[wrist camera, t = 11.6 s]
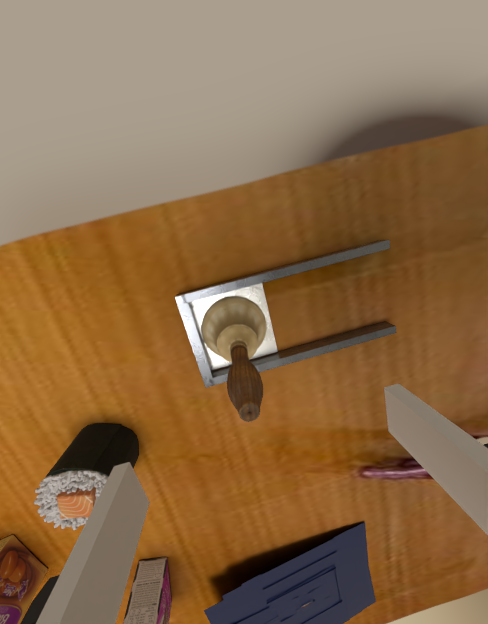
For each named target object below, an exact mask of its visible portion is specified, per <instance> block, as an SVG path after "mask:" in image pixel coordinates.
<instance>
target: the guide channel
mask: <svg viewBox="0 0 488 624" xmlns="http://www.w3.org/2000/svg"><path fill="white" fill-rule="evenodd" d="M386 249H390V240H380V241H375V242H371V243H367V244H363V245H360V246H356V247H352V248H348V249H345V250H341V251H337V252H334V253H330V254H326V255H322V256H319V257H315V258H311V259H307V260H304V261H300V262H296V263H292V264H289V265H285V266H281V267H277V268H274V269H270V270H266V271H262V272H259V273H255V274H251V275H248V276H244V277H240V278H236V279H233V280H229V281H225V282H221V283H218V284H214V285H210V286H206V287H203V288H199V289H195V290H191V291H188V292H184V293H180V294H177V295H176V297H175V299H176V302H177V305H178V308H179V311H180V314H181V317H182V320H183V323H184V326H185V329H186V331H187V334H188V337H189V340H190V343H191V346H192V349H193V352H194V355H195V358H196V361H197V364H198V367H199V370H200V372H201V375H202V378H203V381H204V384H205V387H210V386H213V385H217V384H220V383H224V382H227V377H228V372H229V369H230V367H231V365H232V363H231V362H229V361H227V360H225V359H223V358H222V357H221V356H218V355H216V354H215V353H213V352H212V351H211V350H210V349H209V348H208V347H207V345H206V344H205V342H204V340H203V337H202V333H201V324H202V319H203V317H204V315H205V313H206V311H207V310H208V309H209V308H210V307H211V306H212V305H213V304H214V303H215V302H217V301H219V300H221V299H223V298H227V297H243V298H246V299H249V300H251V301H252V302H254V303H255V304H257V305H258V306H259V308H260V309H261V310H262V312H263V314H264V316H265V319H266V323H267V330H266V335H265V338H264V340H263V342H262V344H261V345H260V347H259V348H258V349H257V351H256V353H255V354H254V356H253V357H252V358H250V359H251V360H250V359H249V361H250V362H251V363H252V364H253V365H254V366H255V367H256V369H257V370H258V372H262V371H265V370H269V369H272V368H276V367H279V366H283V365H286V364H290V363H293V362H297V361H300V360H304V359H307V358H311V357H314V356H318V355H321V354H325V353H328V352H332V351H335V350H338V349H342V348H345V347H349V346H352V345H356V344H359V343H363V342H366V341H370V340H373V339H377V338H380V337H384V336H387V335H391V334H394V333H396V326H395V325H392V324H390V323H387V322H381V323H378V324H374V325H371V326H367V327H364V328H360V329H357V330H353V331H350V332H346V333H343V334H339V335H336V336H332V337H329V338H325V339H322V340H318V341H315V342H311V343H307V344H304V345H300V346H297V347H293V348H290V349H286V350H283V351H279V352H278V350H277V346H276V342H275V337H274V333H273V329H272V324H271V320H270V316H269V311H268V307H267V303H266V298H265V294H264V290H263V285H262V283H263V282H267V281H271V280H275V279H278V278H282V277H286V276H289V275H293V274H297V273H301V272H304V271H308V270H312V269H315V268H319V267H323V266H326V265H330V264H334V263H338V262H341V261H345V260H349V259H352V258H356V257H360V256H364V255H367V254H371V253H375V252H378V251H382V250H386ZM275 352H276V353H275ZM271 353H272V354H271ZM268 354H269V355H268ZM264 355H265V356H264ZM261 356H262V357H261ZM257 357H258V358H257ZM254 358H255V359H254ZM229 365H230V366H229ZM225 366H227V367H225ZM222 367H223V368H222ZM218 368H220V369H218ZM215 369H216V370H215Z"/></svg>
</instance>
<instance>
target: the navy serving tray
mask: <svg viewBox="0 0 488 624" xmlns="http://www.w3.org/2000/svg"><path fill="white" fill-rule="evenodd" d="M241 585H242V586H241V587H239V588H237V589H235V590H233V591H231V592H229V593H227V594H225V595H223V596H222V597H223V599H224V600H223V601H221V602H219V603H217V604H215V605H214V606H212V607H210V608H208V609H206V610H204V612H205V614H206V615H207V617H208V619H209V621H210V623H211V624H343V623H345V622H346V621H348V620H350V618H352V617H353V616H355V615H356V614H358V613H359V612H361V611H362V610H363V609H365V608H366V607H368V606H370V605H371V604H373V603H375V602H376V601H375V596H374V591H373V586H372V581H371V576H370V572H369V567H368V555H367V543H366V530H365V523H362V524H360V525H358V526H356V527H354V528H352V529H350V530H347V531H345V532H343V533H341V534H340V535H338V536H336V537H334V538H332V539H331V540H330V541H328V542H326V543H324V544H322V545H320V546H318V547H316V548H314V549H312V550H310V551H308V552H306V553H304V554H302V555H300V556H298V557H296V558H294V559H292V560H290V561H288V562H286V563H284V564H282V565H280V566H278V567H276V568H274V569H272V570H270V571H268V572H266V573H262V574H260V575H258V576H256V577H254V578H252V579H251V580H249V581H247V582H245V583H243V584H241Z"/></svg>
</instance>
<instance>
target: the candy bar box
mask: <svg viewBox="0 0 488 624" xmlns="http://www.w3.org/2000/svg"><path fill="white" fill-rule="evenodd" d="M171 602H172V599H171V590H170V581H169V571H168V561H167V557H161V558H155V559H149V560H142V561H139V562H138V565H137V569H136V574H135V577H134V581H133V585H132V589H131V593H130V597H129V601H128V605H127V610H126V614H125V618H124V622H123V624H169V618H170V610H171Z"/></svg>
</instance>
